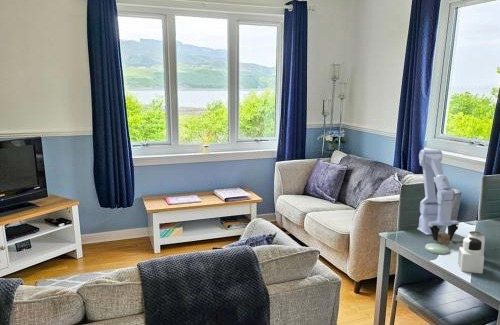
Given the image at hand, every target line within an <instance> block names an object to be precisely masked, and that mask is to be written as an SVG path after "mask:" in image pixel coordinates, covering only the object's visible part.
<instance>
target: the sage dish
mask: <svg viewBox="0 0 500 325" xmlns="http://www.w3.org/2000/svg"><path fill="white" fill-rule="evenodd" d="M424 250H426V251H427V252H428V253H432V254H437V255H447V254H448V253H449V251H450V248H449V247H448V246H447V245H445V244H439V243H437V242H436V243H435V242H431V243H430V242H429V243H426V244H425V247H424Z"/></svg>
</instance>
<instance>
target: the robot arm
mask: <svg viewBox="0 0 500 325" xmlns="http://www.w3.org/2000/svg"><path fill="white" fill-rule="evenodd" d="M418 161H419V166H421V167H422V173H423V174H422V175H423V187H424V198H423V199H421V201H420V202H419V212H420V216H419V218H418V227H417V230H418V231H420V232H422V234H425V235H427V236H429V235H430V236H431V235H432V239H433V241H434V242H436V241H437V239H438V232H440V228H439V227H443V226H445V227H447V234H449V235H450V240H452V237H453V235H454V234H455V233H456V231H457V230H458V229H459V225H460V222H459V220H454V219H452V220H451V218H452V209H453V208H452V205H453V204H452V203H453V201H455V199H456V192H455V189H454V188H452V187H451V186H450V183H449V180H448V177H447V176H446V175H444V172H443V167H442V161H443V151H442V150H441V149H440V148H438V149H437V148H436V149H420V150H419V154H418ZM436 190H437V192H436Z"/></svg>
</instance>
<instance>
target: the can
mask: <svg viewBox="0 0 500 325" xmlns="http://www.w3.org/2000/svg"><path fill="white" fill-rule="evenodd" d="M469 237H471V238H476V239H478V240H480V241H481V242H482V245H481V252H482V254H483V255H484V253H485V243H486V237H485V233H483V232H480V231H476V230H475V231H474V230H472V231H469V232H468V235H467V238H469ZM484 256H485V255H484Z"/></svg>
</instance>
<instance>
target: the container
mask: <svg viewBox="0 0 500 325" xmlns="http://www.w3.org/2000/svg"><path fill="white" fill-rule="evenodd" d="M481 245H482V242H481V241H480V240H478V239H476V238H471V237H469V238H468V237H465V239H463V242H462V246H459V249H458V260H457V264H458V266H459V268H460V271H462V272H464V273H465V272H466V273H474V274H479V275H480V274H483V273H484V263H485V255H483V254H482V252H481Z"/></svg>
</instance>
